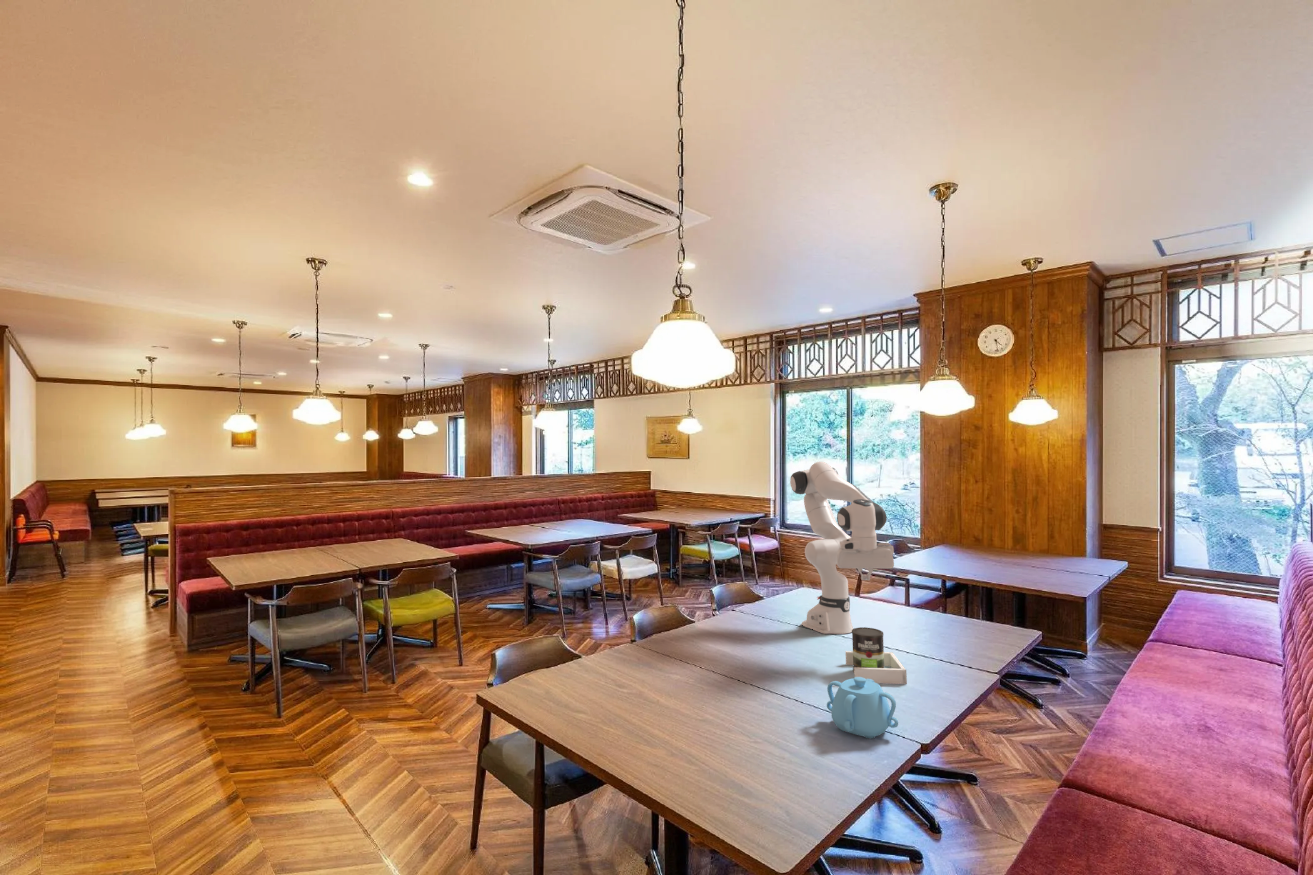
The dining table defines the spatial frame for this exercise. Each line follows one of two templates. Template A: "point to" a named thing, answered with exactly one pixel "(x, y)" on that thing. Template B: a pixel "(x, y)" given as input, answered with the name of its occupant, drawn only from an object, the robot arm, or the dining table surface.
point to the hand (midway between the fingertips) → (865, 579)
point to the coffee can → (867, 648)
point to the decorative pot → (861, 707)
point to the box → (881, 670)
